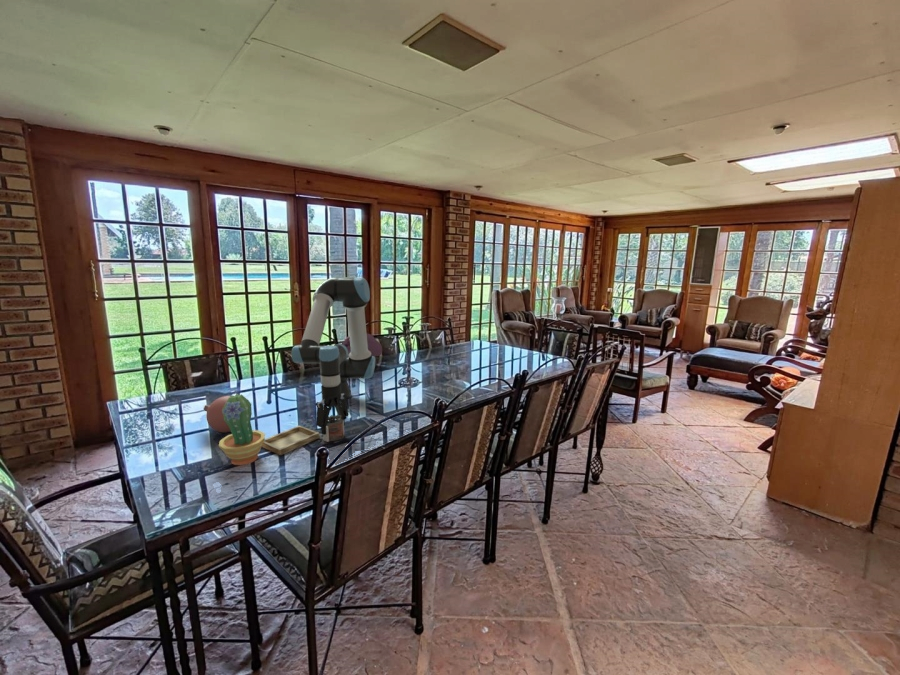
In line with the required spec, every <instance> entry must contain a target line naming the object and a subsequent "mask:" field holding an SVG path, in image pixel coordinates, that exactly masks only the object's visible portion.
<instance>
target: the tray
mask: <svg viewBox="0 0 900 675" xmlns="http://www.w3.org/2000/svg"><path fill="white" fill-rule="evenodd" d="M317 439H320V432H318V431H315V430H312V429H311V428H307V427H304V426H303V425H297V426H294V427H293V428H289V429H287V430H284V431H281V432H280V433H277V434H275V435H273V436H269V437H268V438H267V437H266V438H265V440H264V442H263V443H262V446H261V448H264V449H266V450H268V451H270V452H272V453H274V454H277V455H279V456H282V455H285V454H287V453H289V452H292V451H293V450H295V449H297V448H300V447H302V446H305V445H307V444H309V443H311V442H313V441H316V440H317Z"/></svg>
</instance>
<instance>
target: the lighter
mask: <svg viewBox="0 0 900 675" xmlns="http://www.w3.org/2000/svg"><path fill="white" fill-rule="evenodd" d="M340 418H341V415H338V414H336V415H332V414H331V415H329V417H328V421H327V426H328V431H329V442H331V441H333V442H334V441H337V440H341V439H344V438H345V433H344V434H343V420H342V419H340Z"/></svg>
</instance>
